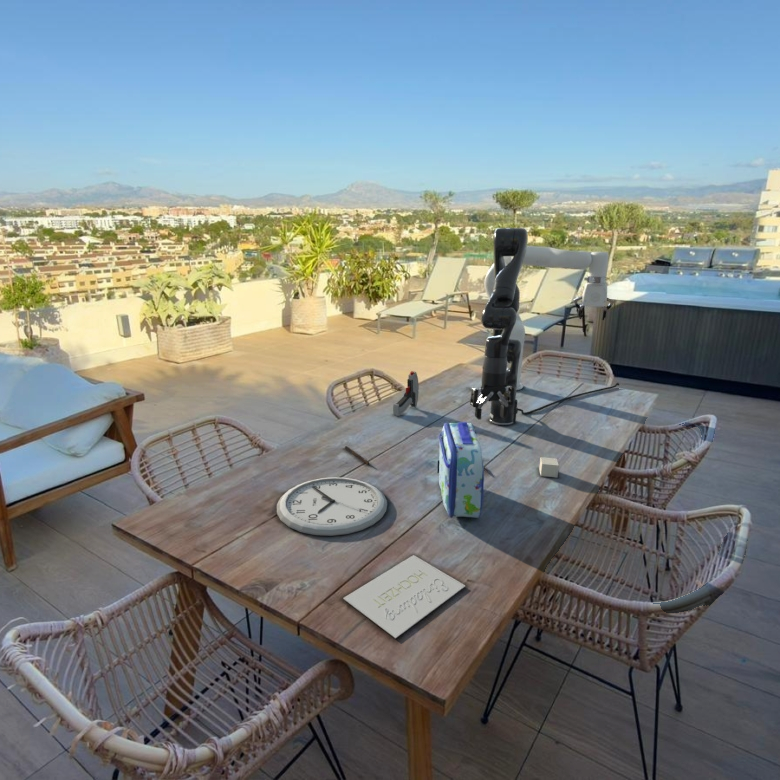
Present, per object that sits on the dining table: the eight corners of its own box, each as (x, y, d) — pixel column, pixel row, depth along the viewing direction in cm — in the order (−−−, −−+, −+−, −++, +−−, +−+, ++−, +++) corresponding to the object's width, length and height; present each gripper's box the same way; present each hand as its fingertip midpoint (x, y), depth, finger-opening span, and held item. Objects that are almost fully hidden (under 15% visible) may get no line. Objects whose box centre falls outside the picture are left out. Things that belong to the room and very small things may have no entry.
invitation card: (413, 554, 121) (465, 585, 111) (413, 555, 121) (465, 586, 111) (343, 597, 107) (395, 637, 97) (343, 598, 107) (395, 638, 97)
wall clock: (392, 527, 129) (268, 531, 127) (391, 533, 130) (269, 537, 127) (383, 473, 158) (282, 475, 155) (383, 478, 158) (282, 480, 156)
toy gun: (392, 379, 206) (413, 369, 217) (393, 417, 212) (414, 405, 223) (397, 380, 205) (418, 370, 216) (398, 418, 210) (418, 406, 222)
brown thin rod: (344, 448, 179) (344, 445, 179) (346, 448, 179) (346, 445, 179) (367, 464, 167) (367, 462, 167) (368, 464, 167) (368, 461, 167)
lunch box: (435, 478, 159) (438, 413, 153) (470, 478, 159) (475, 414, 153) (442, 524, 134) (446, 449, 128) (484, 525, 134) (490, 450, 128)
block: (540, 476, 162) (542, 463, 161) (539, 469, 167) (540, 457, 165) (557, 477, 161) (558, 465, 160) (555, 470, 166) (556, 458, 165)
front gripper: (478, 373, 160) (475, 423, 165) (520, 371, 164) (515, 420, 168) (469, 367, 167) (465, 415, 172) (509, 365, 171) (505, 412, 175)
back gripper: (577, 280, 229) (572, 319, 234) (619, 282, 226) (613, 321, 231) (574, 279, 236) (570, 316, 241) (615, 280, 233) (609, 318, 238)
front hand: (490, 417), depth 170 cm, fingers open, 8 cm apart
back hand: (591, 319), depth 236 cm, fingers open, 9 cm apart
